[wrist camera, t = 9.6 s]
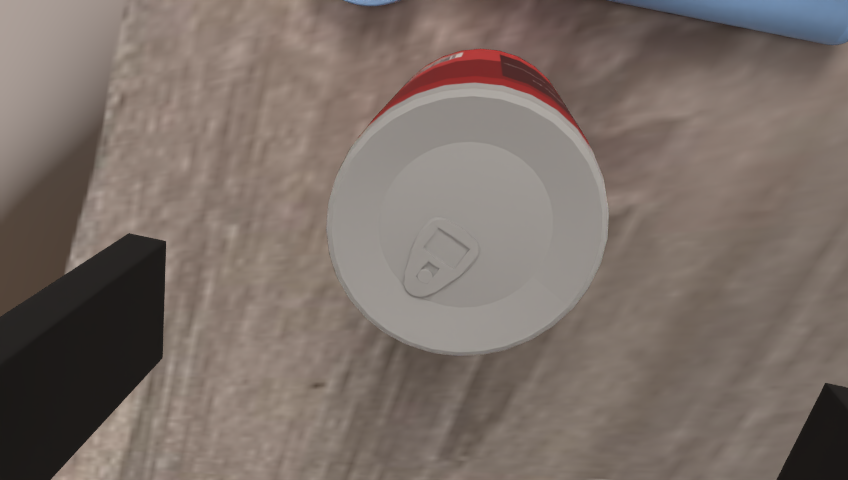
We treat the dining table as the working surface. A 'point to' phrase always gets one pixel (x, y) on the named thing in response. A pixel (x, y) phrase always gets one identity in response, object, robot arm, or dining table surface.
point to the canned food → (469, 208)
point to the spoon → (750, 15)
